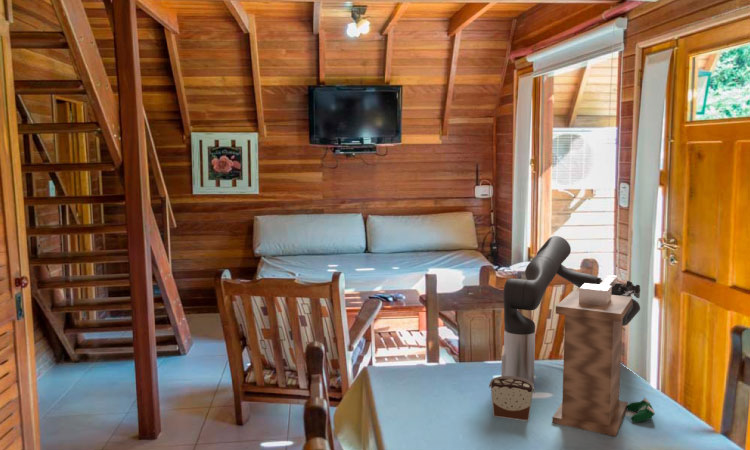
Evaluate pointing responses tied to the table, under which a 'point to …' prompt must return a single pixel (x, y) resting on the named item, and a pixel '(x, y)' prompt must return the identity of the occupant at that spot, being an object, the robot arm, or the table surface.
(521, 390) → the food container
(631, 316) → the robot arm
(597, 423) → the stand
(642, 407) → the gaming controller
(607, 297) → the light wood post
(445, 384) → the table surface
